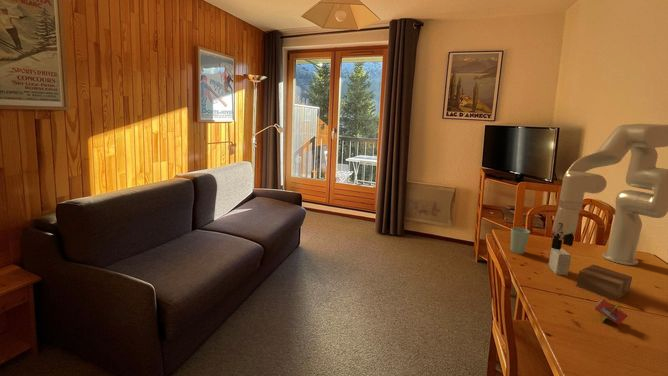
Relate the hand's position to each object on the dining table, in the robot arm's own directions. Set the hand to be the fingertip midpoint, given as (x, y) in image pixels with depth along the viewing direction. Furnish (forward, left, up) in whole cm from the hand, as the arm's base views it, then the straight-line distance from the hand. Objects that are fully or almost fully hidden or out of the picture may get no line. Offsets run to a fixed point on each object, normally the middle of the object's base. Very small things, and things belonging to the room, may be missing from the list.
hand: (561, 246), depth 139 cm
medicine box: (0, 0, -11) cm, 11 cm away
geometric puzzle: (+26, +26, -11) cm, 38 cm away
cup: (-6, -20, -11) cm, 23 cm away
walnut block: (+2, +16, -10) cm, 19 cm away
